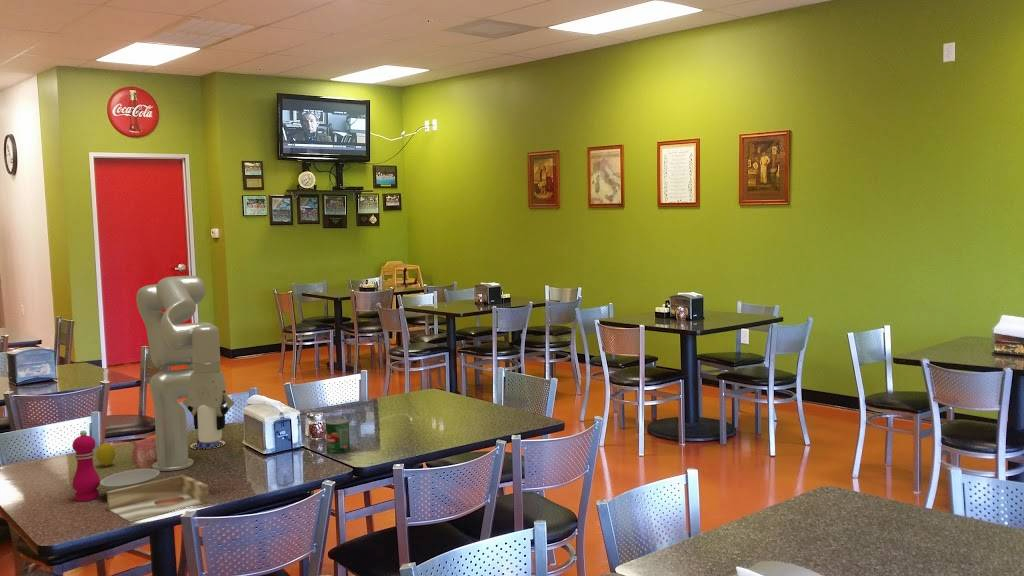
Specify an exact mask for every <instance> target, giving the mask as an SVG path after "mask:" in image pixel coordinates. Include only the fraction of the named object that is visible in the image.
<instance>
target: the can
mask: <svg viewBox="0 0 1024 576" xmlns="http://www.w3.org/2000/svg"><path fill="white" fill-rule="evenodd" d="M217 416H218V413H217V411H216V408H210V407H207V406H206V405H201V406H200V407H198V408H197V417H198V429H197V439H198V438H199V441H200V442H202V443H212V442H217V441H222V440H221V439H222V438H223V435H222V434H223V433H222V432H223V431H222V430H223V429H221V430H218V429H217Z"/></svg>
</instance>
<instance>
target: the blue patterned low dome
mask: <svg viewBox="0 0 1024 576" xmlns="http://www.w3.org/2000/svg"><path fill="white" fill-rule="evenodd" d="M219 442H222V443H223V445H221V446H220V444H219ZM195 444H196V447H199V448H203V449H205V448H206V449H205V450H209V449H210V450H211V448H209V447H213V449H215V448H219V447H222V446H224V445H225V444H226V441H224V440H220V441H217V442H212V443H202V442H200V441H199V438H198V437H197V439H196V442H195V443H192V444H191V445H190V446H189V447H190V448H192V449H195V450H197V449H196V448H193V447H192V446H193V445H195ZM217 445H219V446H217ZM215 446H217V447H215ZM199 448H198V449H199Z"/></svg>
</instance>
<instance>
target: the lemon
mask: <svg viewBox="0 0 1024 576" xmlns="http://www.w3.org/2000/svg"><path fill="white" fill-rule="evenodd" d="M115 457H116V451H115V447H114V446H113V445H112V444H110V443H108V442H104V443H101V444H100V445H99V447H97V450H96V460H97V461H98V463H99V464H101V465H103V466H105V467H108V466H109V465H110V464H112V463H113V462H114V460H115V459H116V458H115Z"/></svg>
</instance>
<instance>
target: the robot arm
mask: <svg viewBox="0 0 1024 576" xmlns="http://www.w3.org/2000/svg"><path fill="white" fill-rule="evenodd" d="M205 297H206V286H205V283H204V281H203V279H202V278H200V276H197V275H180V276H179V275H176V276H175V275H174V276H167V277H164V278H162V279H160V280H158V282H157V284H155V283H154V284H148V285H144V286H143V287H141V288H139V289H138V291H137V292H136V306H137V309H138V313H139V314H140V317H141V318H142V321H143V323H144V325H145V328H146V336H147V341H148V347H149V348H148V349H149V354H150V359H151V363H152V364H153V366H155V367H156V368H168V367H169V368H170V367H171V368H172V367H179V366H186V367H187V368H181V369H179V368H178V369H168V370H162V371H160V372H156V373H154V374H153V375H152V376H151V378H150V381H149V389H150V393H151V397H152V403H153V409H154V424H155V425H154V426H155V446H156V460H157V461H155V462H154V463H152V464H151V467H152V468H151V469H156V470H159V471H160V472H172V471H179V470H184V469H186V468H190V467H192V466H193V465H194V460H193V458H190V457H189V449H188V447H189V446H188V428H187V427H188V426H187V413H186V409H187V410H188V411H189V413H191V416H193V425H194V430H198V417H197V408H198V407H200V406H201V405H206V406H207V407H210V408H216V411H217V413H218V416H217V429H218V430H221V429H222V430H223V429H225V427H226V415H227V413H228V412H229V411H230V410H231V408H232V407H233V406H234V405H235V402H234V400H233V399H232V398H230V396H229V395H228V393H227V386H226V379H225V375H224V372H223V371H221V369H222V368H221V351H220V350H221V349H220V346H221V345H220V331H219V330H220V329H219V327H217V326H216V325H214V324H213V323H211V322H209V321H208V322H207V321H205V322H201V321H200V322H191V323H185V322H187V321H188V320H190V319H192V317H194V315H195V313H196V310H197V305H198V304H199V303H201V302H202V301H203V300H204V298H205ZM180 399H184V400H183V402H182V404H183V405H184V407H185V408H186V409H185V408H184V407H183V406H182V404H180V402H178V400H180Z"/></svg>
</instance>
